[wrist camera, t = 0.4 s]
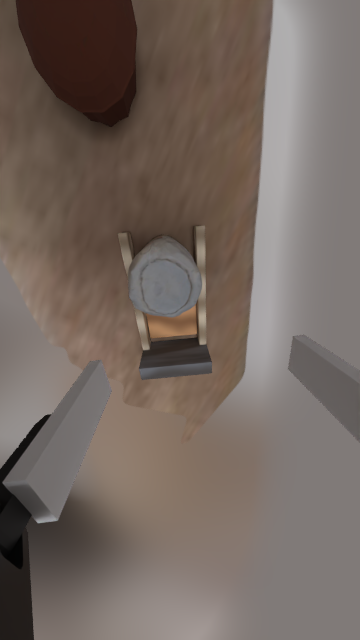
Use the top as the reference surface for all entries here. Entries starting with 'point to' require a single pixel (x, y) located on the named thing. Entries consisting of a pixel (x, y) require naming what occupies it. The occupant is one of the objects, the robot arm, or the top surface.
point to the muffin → (84, 52)
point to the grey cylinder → (164, 278)
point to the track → (173, 327)
